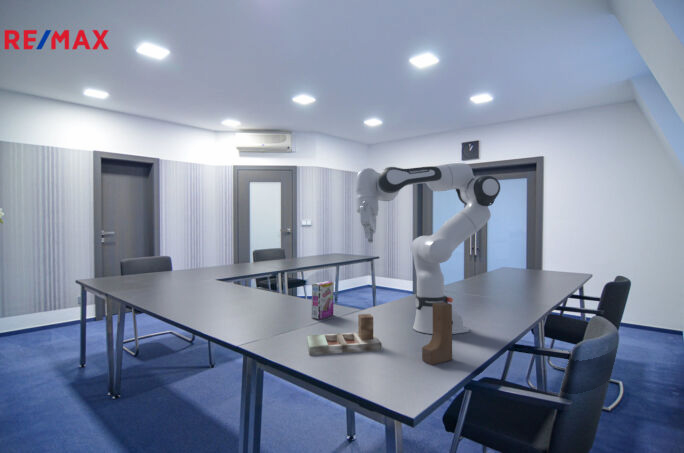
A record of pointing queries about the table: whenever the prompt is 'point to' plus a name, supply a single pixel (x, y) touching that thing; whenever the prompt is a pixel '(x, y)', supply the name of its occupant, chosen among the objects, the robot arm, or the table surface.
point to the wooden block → (440, 335)
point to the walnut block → (365, 326)
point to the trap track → (340, 343)
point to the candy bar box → (322, 299)
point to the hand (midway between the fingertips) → (369, 240)
